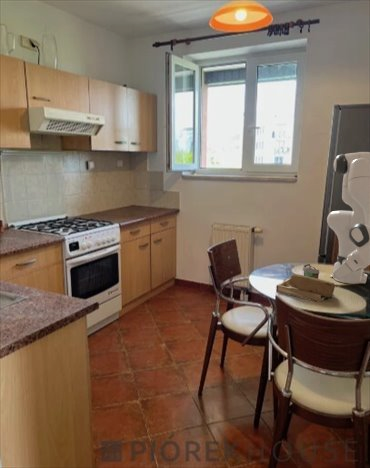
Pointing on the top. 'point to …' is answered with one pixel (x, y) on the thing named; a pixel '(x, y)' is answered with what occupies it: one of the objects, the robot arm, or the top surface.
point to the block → (312, 285)
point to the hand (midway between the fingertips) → (334, 276)
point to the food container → (310, 271)
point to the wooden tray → (297, 291)
